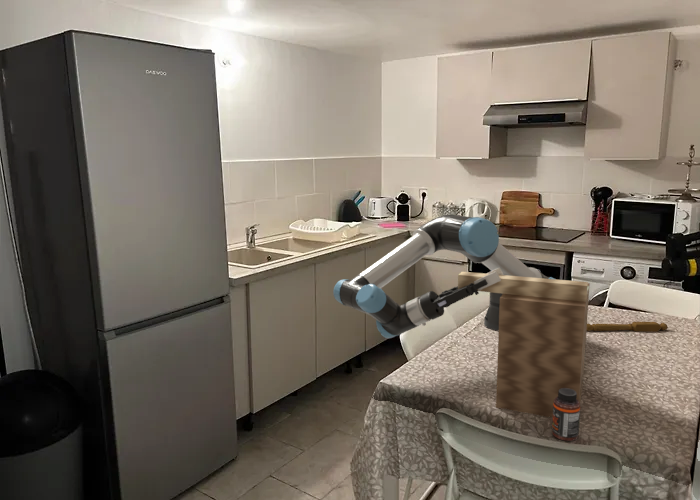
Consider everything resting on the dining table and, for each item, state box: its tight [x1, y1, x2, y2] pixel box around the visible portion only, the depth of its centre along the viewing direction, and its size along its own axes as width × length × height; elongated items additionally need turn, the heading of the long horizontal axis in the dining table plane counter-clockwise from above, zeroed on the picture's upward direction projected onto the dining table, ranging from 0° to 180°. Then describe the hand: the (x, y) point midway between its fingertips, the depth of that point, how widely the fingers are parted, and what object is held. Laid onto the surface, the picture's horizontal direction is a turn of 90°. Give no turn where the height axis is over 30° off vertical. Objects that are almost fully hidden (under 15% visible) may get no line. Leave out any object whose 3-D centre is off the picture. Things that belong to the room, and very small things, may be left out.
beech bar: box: [457, 271, 589, 302], centre depth 144 cm, size 32×4×4 cm, turn 65°
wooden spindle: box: [586, 321, 668, 333], centre depth 203 cm, size 3×3×30 cm
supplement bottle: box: [551, 388, 581, 442], centre depth 131 cm, size 6×6×11 cm
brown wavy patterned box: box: [495, 282, 591, 419], centre depth 150 cm, size 20×24×31 cm
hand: (499, 274), depth 146 cm, fingers closed on beech bar, 4 cm apart
